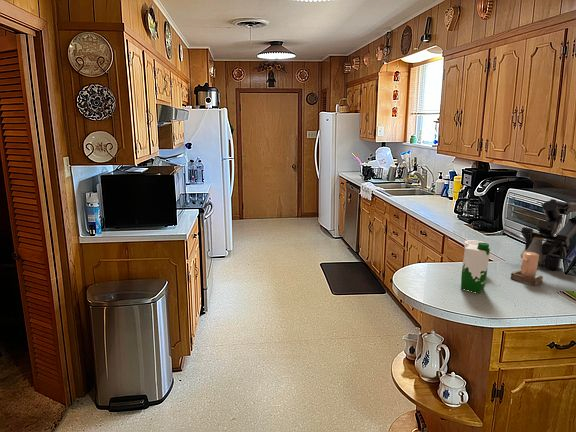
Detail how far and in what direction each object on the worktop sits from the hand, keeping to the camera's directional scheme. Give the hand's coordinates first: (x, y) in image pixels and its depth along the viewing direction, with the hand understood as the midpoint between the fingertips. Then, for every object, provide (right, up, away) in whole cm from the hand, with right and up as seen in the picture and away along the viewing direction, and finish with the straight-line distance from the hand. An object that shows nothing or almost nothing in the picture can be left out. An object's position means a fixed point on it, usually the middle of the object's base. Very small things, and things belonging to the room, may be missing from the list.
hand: (536, 252), depth 190 cm
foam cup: (-24, -9, +11) cm, 28 cm away
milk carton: (-33, -15, -12) cm, 38 cm away
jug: (-5, -12, -1) cm, 14 cm away
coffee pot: (+7, -7, +25) cm, 27 cm away
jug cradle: (-4, -12, 0) cm, 13 cm away
